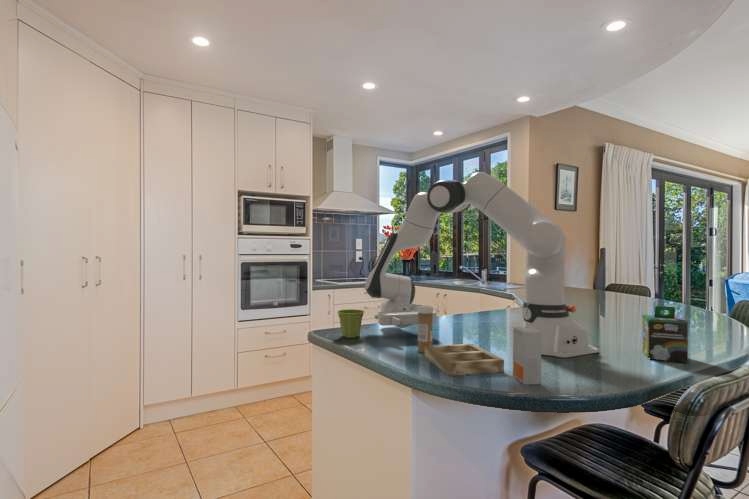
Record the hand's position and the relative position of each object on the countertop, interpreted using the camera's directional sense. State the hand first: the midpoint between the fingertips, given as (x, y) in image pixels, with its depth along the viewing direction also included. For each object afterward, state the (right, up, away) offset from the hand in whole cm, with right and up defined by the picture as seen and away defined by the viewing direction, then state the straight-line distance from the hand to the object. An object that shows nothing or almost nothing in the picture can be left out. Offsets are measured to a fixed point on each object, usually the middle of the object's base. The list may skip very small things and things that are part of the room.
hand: (414, 321), depth 126 cm
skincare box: (+23, -7, -34) cm, 42 cm away
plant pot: (-21, -7, +9) cm, 24 cm away
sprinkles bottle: (+2, -7, -10) cm, 12 cm away
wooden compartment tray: (+10, -7, -22) cm, 25 cm away
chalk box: (+69, -8, -15) cm, 71 cm away
